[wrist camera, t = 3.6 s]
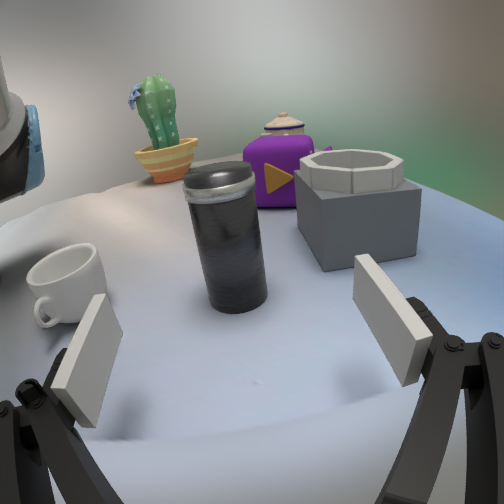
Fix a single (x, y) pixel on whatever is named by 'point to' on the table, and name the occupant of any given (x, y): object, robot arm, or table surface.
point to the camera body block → (356, 207)
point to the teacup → (66, 283)
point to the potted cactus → (161, 131)
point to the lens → (227, 234)
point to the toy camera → (277, 167)
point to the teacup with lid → (285, 126)
